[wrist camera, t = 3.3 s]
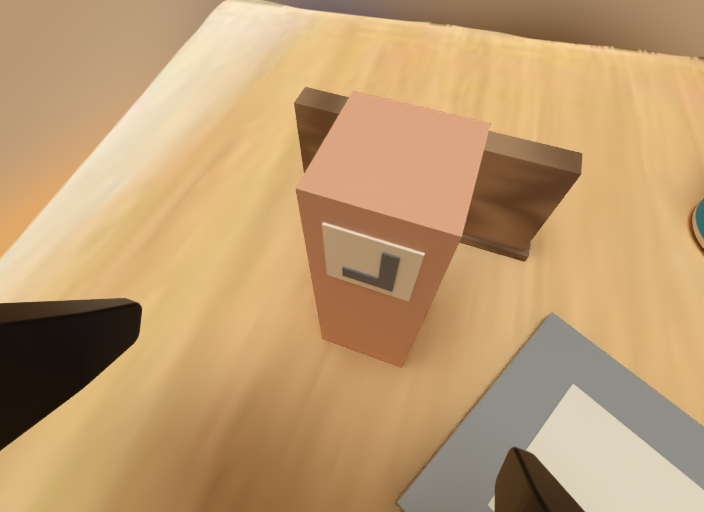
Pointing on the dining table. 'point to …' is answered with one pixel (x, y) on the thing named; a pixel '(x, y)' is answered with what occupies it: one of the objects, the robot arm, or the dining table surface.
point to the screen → (492, 180)
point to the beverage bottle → (699, 222)
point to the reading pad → (569, 435)
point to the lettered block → (386, 218)
